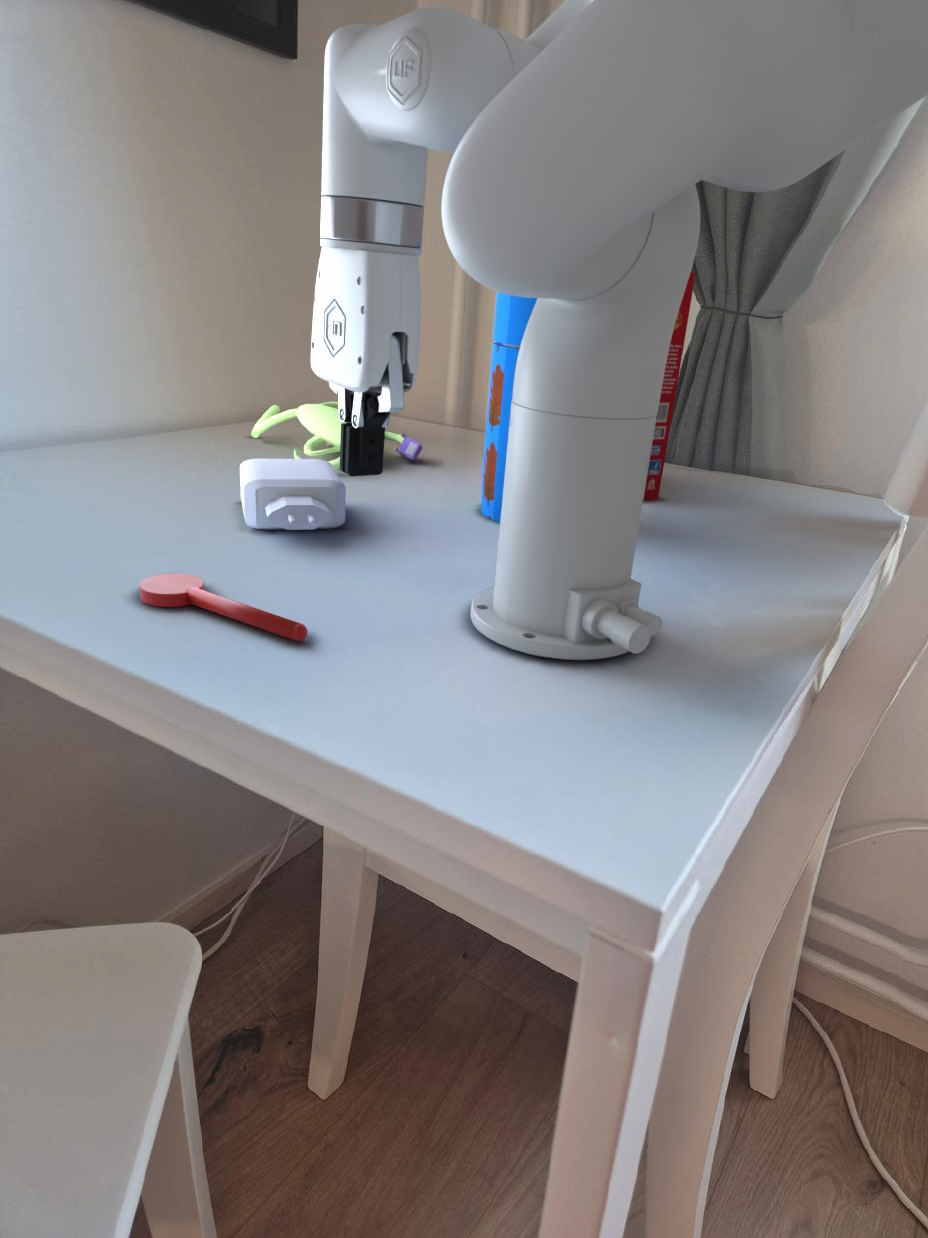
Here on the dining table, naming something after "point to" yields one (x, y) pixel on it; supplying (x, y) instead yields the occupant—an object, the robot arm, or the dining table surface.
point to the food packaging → (668, 396)
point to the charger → (291, 494)
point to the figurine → (325, 429)
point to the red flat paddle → (213, 603)
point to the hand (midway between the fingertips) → (361, 472)
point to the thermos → (502, 395)
